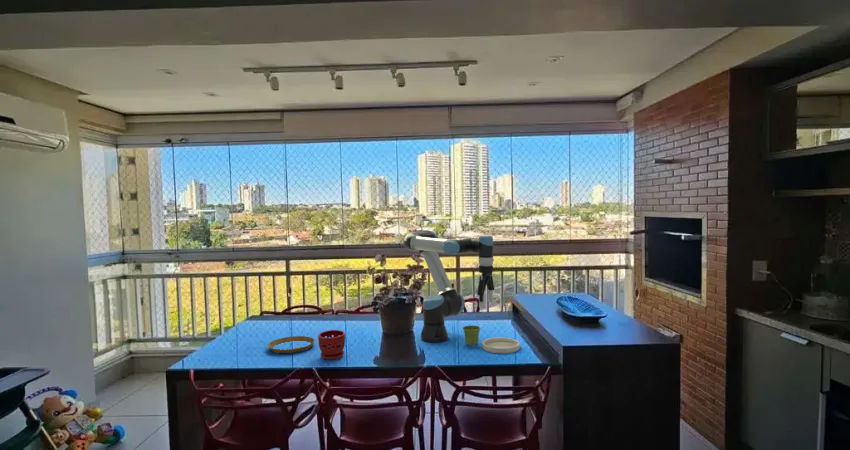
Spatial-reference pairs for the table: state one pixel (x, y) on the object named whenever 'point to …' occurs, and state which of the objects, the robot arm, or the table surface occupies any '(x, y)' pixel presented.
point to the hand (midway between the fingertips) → (486, 304)
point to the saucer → (500, 345)
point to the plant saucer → (288, 339)
